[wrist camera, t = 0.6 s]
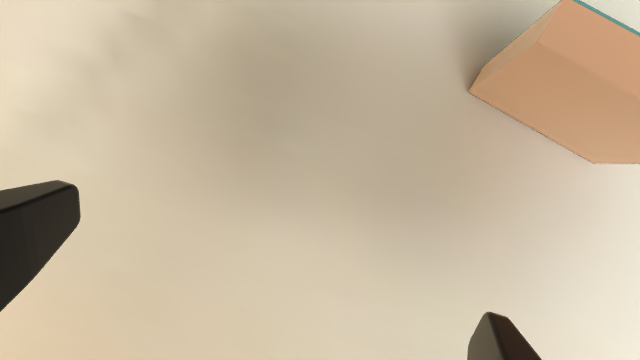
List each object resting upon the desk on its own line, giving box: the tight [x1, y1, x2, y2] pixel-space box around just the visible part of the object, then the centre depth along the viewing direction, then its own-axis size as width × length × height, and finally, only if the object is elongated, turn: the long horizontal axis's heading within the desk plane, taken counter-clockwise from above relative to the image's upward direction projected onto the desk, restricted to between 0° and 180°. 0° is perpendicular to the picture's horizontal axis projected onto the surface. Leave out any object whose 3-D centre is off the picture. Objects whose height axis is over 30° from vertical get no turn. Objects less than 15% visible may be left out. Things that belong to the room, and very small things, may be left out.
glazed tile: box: [468, 0, 640, 164], centre depth 17 cm, size 2×7×9 cm, turn 59°
